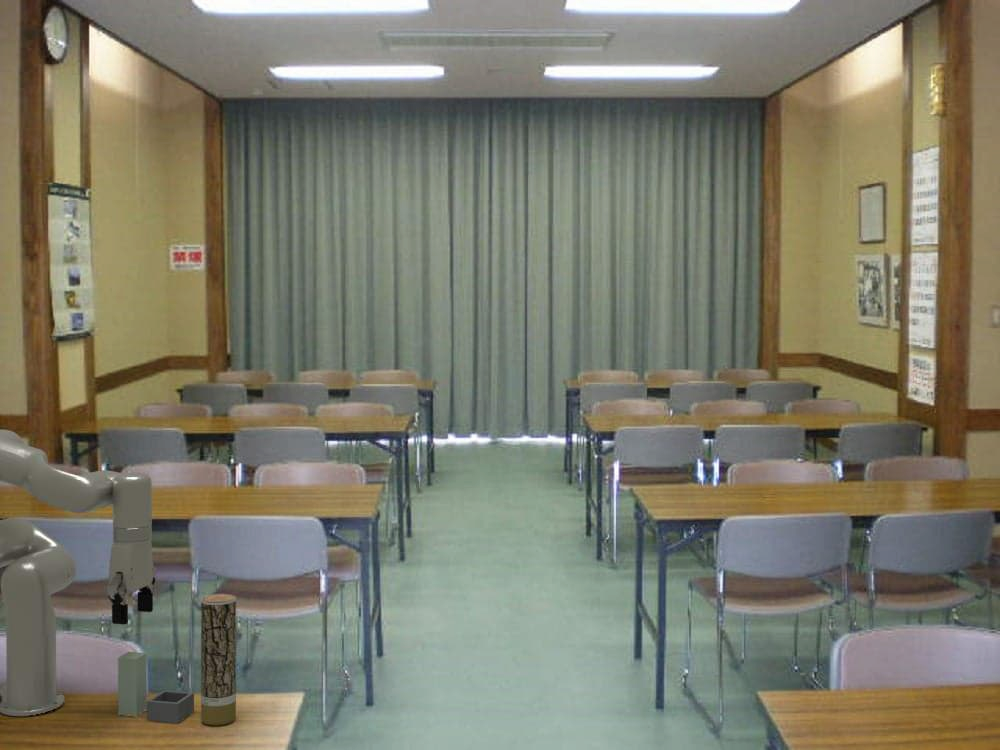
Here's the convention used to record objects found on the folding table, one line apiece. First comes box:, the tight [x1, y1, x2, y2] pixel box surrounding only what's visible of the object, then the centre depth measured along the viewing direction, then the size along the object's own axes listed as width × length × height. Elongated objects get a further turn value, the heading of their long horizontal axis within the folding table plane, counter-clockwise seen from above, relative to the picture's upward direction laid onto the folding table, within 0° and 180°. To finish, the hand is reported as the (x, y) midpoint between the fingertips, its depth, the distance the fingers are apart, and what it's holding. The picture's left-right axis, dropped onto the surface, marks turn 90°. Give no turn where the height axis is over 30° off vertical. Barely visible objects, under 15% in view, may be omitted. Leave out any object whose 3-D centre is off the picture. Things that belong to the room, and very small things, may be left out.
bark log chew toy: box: [200, 593, 237, 727], centre depth 222 cm, size 7×7×25 cm
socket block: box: [146, 689, 195, 725], centre depth 225 cm, size 7×7×4 cm
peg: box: [117, 651, 147, 716], centre depth 226 cm, size 4×4×12 cm
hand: (132, 617), depth 226 cm, fingers open, 9 cm apart
